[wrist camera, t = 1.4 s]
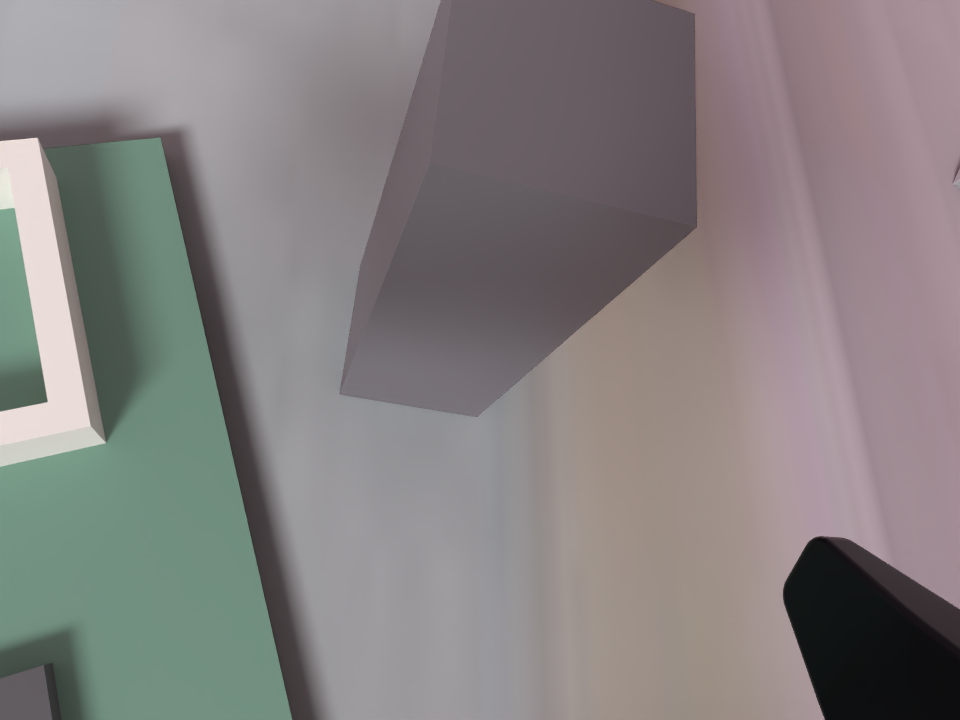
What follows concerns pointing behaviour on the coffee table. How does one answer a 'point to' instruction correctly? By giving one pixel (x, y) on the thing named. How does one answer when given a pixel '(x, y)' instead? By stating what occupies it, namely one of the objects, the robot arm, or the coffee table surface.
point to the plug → (522, 192)
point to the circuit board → (116, 458)
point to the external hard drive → (957, 180)
